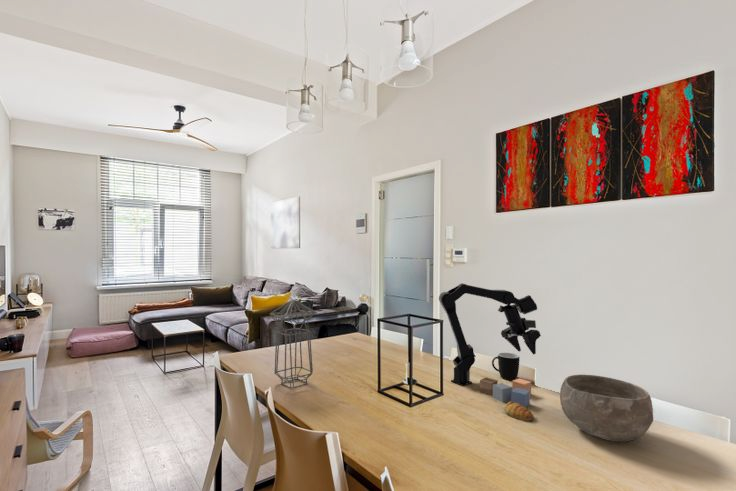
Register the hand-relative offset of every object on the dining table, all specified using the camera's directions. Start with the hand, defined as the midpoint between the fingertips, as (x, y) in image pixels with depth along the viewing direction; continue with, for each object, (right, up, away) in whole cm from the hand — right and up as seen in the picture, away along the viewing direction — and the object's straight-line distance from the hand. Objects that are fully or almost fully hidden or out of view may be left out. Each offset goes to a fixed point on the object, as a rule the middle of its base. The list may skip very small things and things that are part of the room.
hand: (526, 352), depth 162 cm
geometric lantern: (-100, -12, -3) cm, 101 cm away
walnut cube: (-20, -13, -11) cm, 26 cm away
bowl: (+5, -13, -45) cm, 47 cm away
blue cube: (-12, -13, -23) cm, 29 cm away
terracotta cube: (-7, -13, -12) cm, 19 cm away
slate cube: (-17, -13, -18) cm, 27 cm away
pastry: (-16, -13, -32) cm, 38 cm away
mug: (-7, -14, +8) cm, 17 cm away
